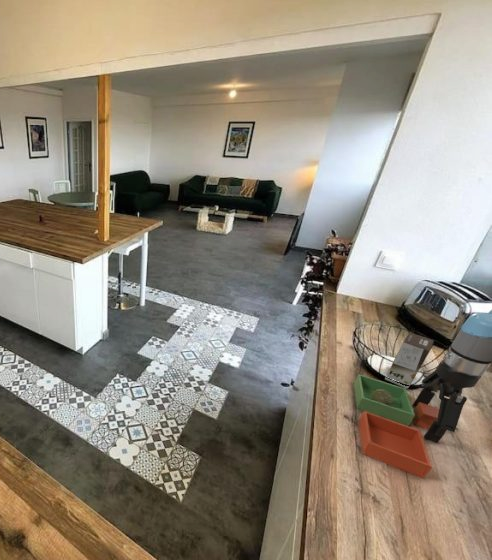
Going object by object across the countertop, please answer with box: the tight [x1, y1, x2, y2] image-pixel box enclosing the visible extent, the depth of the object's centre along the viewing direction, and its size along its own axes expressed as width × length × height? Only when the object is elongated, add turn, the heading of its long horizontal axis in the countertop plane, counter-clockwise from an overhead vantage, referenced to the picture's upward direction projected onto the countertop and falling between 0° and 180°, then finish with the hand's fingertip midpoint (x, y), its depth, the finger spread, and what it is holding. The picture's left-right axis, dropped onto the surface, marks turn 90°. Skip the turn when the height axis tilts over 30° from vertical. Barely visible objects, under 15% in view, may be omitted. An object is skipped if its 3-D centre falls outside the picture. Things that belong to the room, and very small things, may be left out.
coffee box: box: [384, 332, 435, 390], centre depth 105 cm, size 9×6×16 cm
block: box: [413, 402, 440, 431], centre depth 90 cm, size 5×5×5 cm
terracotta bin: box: [358, 411, 433, 479], centre depth 84 cm, size 12×12×4 cm
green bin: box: [353, 373, 415, 427], centre depth 97 cm, size 12×12×4 cm
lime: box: [372, 389, 394, 406], centre depth 97 cm, size 4×5×5 cm
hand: (424, 422), depth 92 cm, fingers open, 13 cm apart
